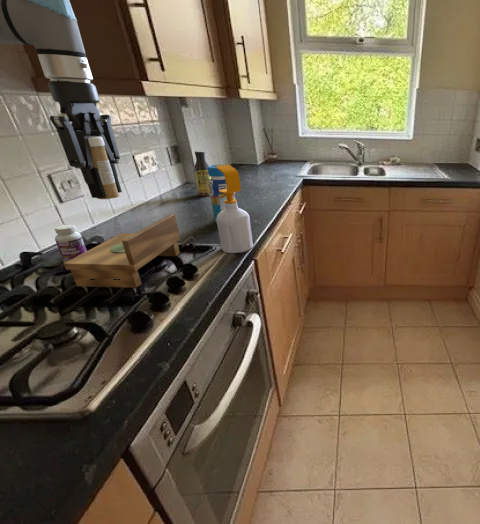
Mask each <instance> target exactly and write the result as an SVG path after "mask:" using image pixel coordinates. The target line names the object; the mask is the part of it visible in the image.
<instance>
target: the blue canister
mask: <svg viewBox="0 0 480 524" xmlns="http://www.w3.org/2000/svg"><path fill="white" fill-rule="evenodd" d="M218 165H219V164H212V165H211V164H210V165H209V166H208V168H207V169H208V174H209V176H210V177H211V179H210V181H209V185H208V187H209V189H210V192H209V194H210V196H209V197H210V202H211V207H212V212H213V219H214V222H215V223H216V224H217V221H216V218H217V215H218V214H219V213H220V212H221V211H222V210H224V209H225V202H224V200H227V196H225V195H224V193H221V192H219V190H222V189H227V187H226V180H225V176H224V174H223V173H222V172H221V171H219V170H218V169H217V168H216V166H218ZM234 194H235V195H233V199H236V192H234Z"/></svg>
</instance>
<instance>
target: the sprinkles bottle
mask: <svg viewBox="0 0 480 524" xmlns="http://www.w3.org/2000/svg"><path fill="white" fill-rule="evenodd" d="M88 141H89V144H90V149H91V156H92V162H93V168H97V169H98V173H99V176H100V179H101V182H102V185H103V188H104V191H105V194H106V198H96V199H98V200H111V199H115V198H119V197H120V193H118V191H117V187H116V184H115V179H114V176H113V172H112V169H111V165H110V162H109V159H108V157H107V153H106V150H105V146H104V145H105V143H104V140H103V138H102V137H100V136H89V138H88Z"/></svg>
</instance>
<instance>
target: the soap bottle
mask: <svg viewBox="0 0 480 524" xmlns="http://www.w3.org/2000/svg"><path fill="white" fill-rule="evenodd" d="M217 165H218V166H216V168H217V169H218V170H219V171H221V172H222V173H223V174H224V176H225V180H226V187H227V189H222V190H219V192H221V193H224V195H225V196H227V200H224V202H225V209H224V210H222V211H221V212H220V213H219V214H218V215H217V218H216V221H217V223H216V225H217V231H218V237H219V242H220V243H219V244H220V248H221V250H222V251H223V252H224V253H227V254H242V253H245V252H247V251H250V250H252V249H253V247H254V241H253V240H254V239H253V234H252V233H253V232H252V227H251V218H250V215H249V213H248V211H246V210H244V209H242V208H240V207H238V202H237V198H235V199H233V195H235V196H236V193H237V192H238V193H239V192H241V190H242V188H241V181H240V180H241V179H240V173H239V171H238V170H237V169H236V168H235V167H233V166H232V165H230V164H217ZM234 192H235V194H234Z"/></svg>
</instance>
